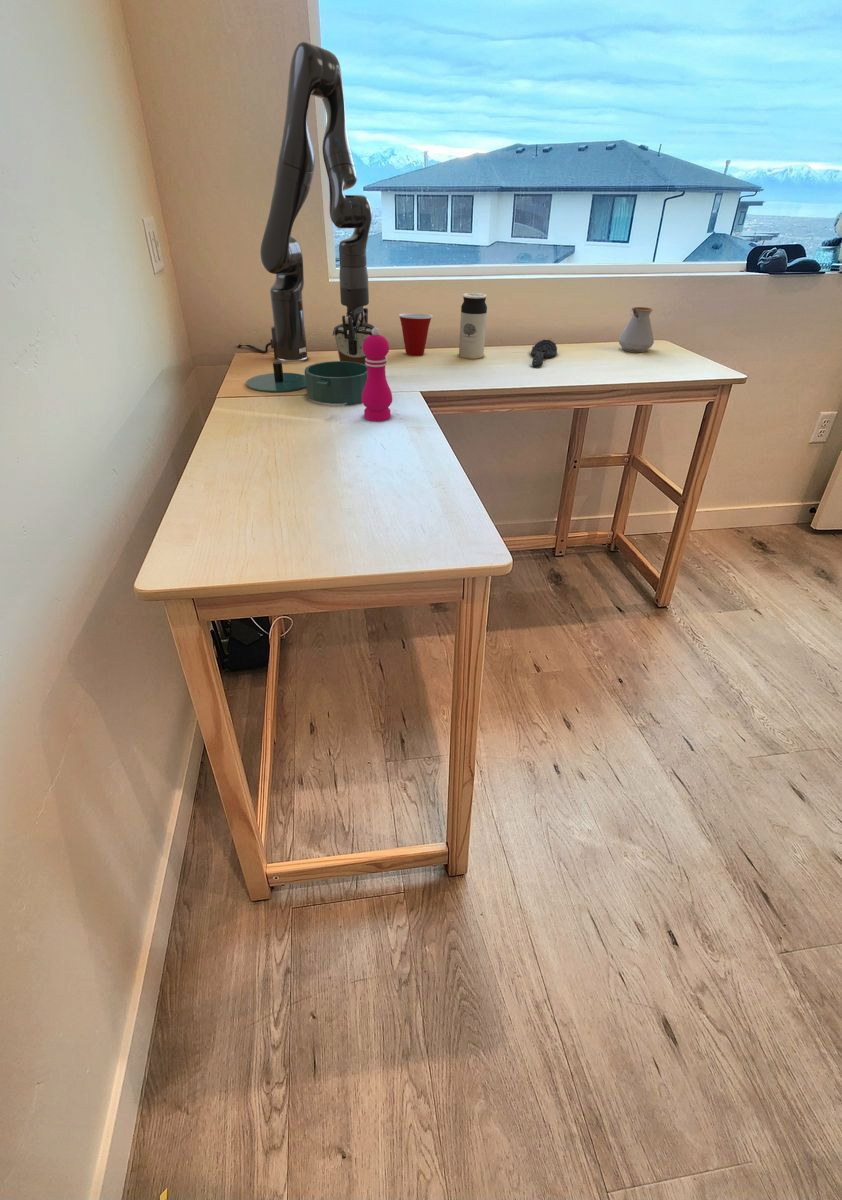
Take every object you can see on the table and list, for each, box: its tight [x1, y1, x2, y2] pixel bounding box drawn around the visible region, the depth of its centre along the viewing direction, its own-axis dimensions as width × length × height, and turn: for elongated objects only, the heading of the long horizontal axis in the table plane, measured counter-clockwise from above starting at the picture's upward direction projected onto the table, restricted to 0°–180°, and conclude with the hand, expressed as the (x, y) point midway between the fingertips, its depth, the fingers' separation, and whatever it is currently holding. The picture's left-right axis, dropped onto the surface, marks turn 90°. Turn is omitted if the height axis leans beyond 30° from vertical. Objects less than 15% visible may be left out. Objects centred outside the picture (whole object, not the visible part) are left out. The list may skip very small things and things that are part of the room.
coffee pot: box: [618, 306, 655, 353], centre depth 202 cm, size 21×12×15 cm, turn 152°
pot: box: [304, 360, 368, 407], centre depth 159 cm, size 17×22×7 cm
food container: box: [332, 322, 376, 365], centre depth 172 cm, size 12×6×10 cm, turn 84°
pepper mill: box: [361, 327, 393, 422], centre depth 142 cm, size 7×7×20 cm
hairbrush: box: [530, 337, 558, 368], centre depth 197 cm, size 8×4×25 cm
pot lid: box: [245, 361, 306, 393], centre depth 167 cm, size 18×18×6 cm
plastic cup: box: [398, 313, 433, 357], centre depth 197 cm, size 11×11×12 cm
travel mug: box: [458, 292, 488, 360], centre depth 194 cm, size 8×8×18 cm
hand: (357, 351), depth 173 cm, fingers closed on food container, 5 cm apart
